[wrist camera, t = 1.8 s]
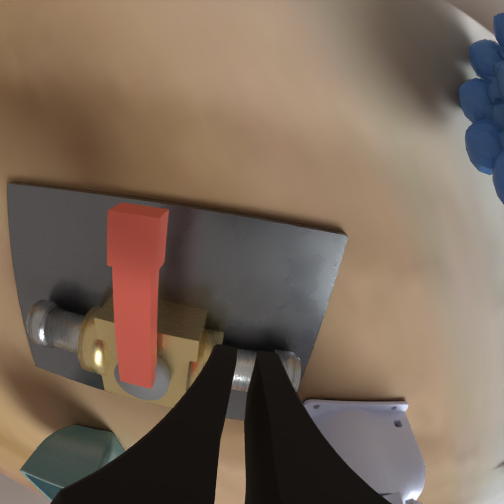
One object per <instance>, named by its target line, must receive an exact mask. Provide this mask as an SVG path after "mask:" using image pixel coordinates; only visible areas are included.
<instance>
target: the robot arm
mask: <svg viewBox="0 0 504 504" xmlns="http://www.w3.org/2000/svg"><path fill="white" fill-rule="evenodd" d="M236 363H237V347H233V346H227V345H221V344H217V345H215V346H213V349H212V352H211V354H210V356H209V358H208V360H207V362H206V364H205V365H204V367H203V369H202V370H201V372H200V373H199V375H198V376H197V378H196V379H195V381H194V382H193V383H192V385H191V386H190V388H189V389H188V390H187V392H186V393H185V394H184V395H183V396H182V398H181V399H180V400H179V401H178V402H177V404H176V405H175V406H174V407H173V408H172V409H171V411H170V412H169V413H168V414H167V415H166V416H165V417H164V418H163V419H162V420H161V421H160V422H159V423H158V424H157V425H156V426H155V427H154V428H153V429H152V430H151V431H149V432H148V433H147V434H146V435H145V436H144V437H142V438H141V439H140V440H139V441H138V442H137V443H135V444H134V445H133V446H132V447H130V448H129V449H128V450H127V451H125V452H124V453H122V454H121V455H119V456H118V457H117V458H115V459H114V460H112V461H111V462H109V463H108V464H106V465H105V466H103V467H102V468H100V469H99V470H97V471H95V472H94V473H92V474H90V475H88V476H86V477H84V478H82V479H80V480H79V481H77V482H75V483H73V484H71V485H69V486H67V487H65V488H63V489H61V490H60V491H59V492H58V493H57V495H56V496H55V497H54V499H53V500H52V502H51V504H214V501H215V489H216V478H217V467H218V457H219V447H220V439H221V434H222V430H223V426H224V422H225V417H226V412H227V407H228V402H229V397H230V393H231V388H232V383H233V378H234V373H235V368H236ZM315 405H316V406H315ZM407 408H408V403H407V402H406V401H398V402H359V401H331V400H315V399H309V400H306V401H305V402H304V403H302V401H301V399H300V398H299V396H298V394H297V392H296V390H295V388H294V387H293V385H292V382H291V380H290V378H289V376H288V374H287V372H286V370H285V367H284V365H283V363H282V360H281V358H280V356H279V354H278V353H274V352H266V351H259V350H258V351H257V355H256V360H255V364H254V368H253V372H252V376H251V380H250V384H249V388H248V392H247V397H246V408H245V419H244V432H245V464H246V495H245V504H422V503H421V502H419V501H416V500H417V498H418V497H419V495H420V494H421V492H422V490H423V487H424V483H425V464H424V460H423V457H422V454H421V451H420V449H419V446H418V444H417V441H416V439H415V436H414V434H413V431H412V429H411V426H410V424H409V421H408V419H407V416H406V414H405V411H406V410H407Z"/></svg>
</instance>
